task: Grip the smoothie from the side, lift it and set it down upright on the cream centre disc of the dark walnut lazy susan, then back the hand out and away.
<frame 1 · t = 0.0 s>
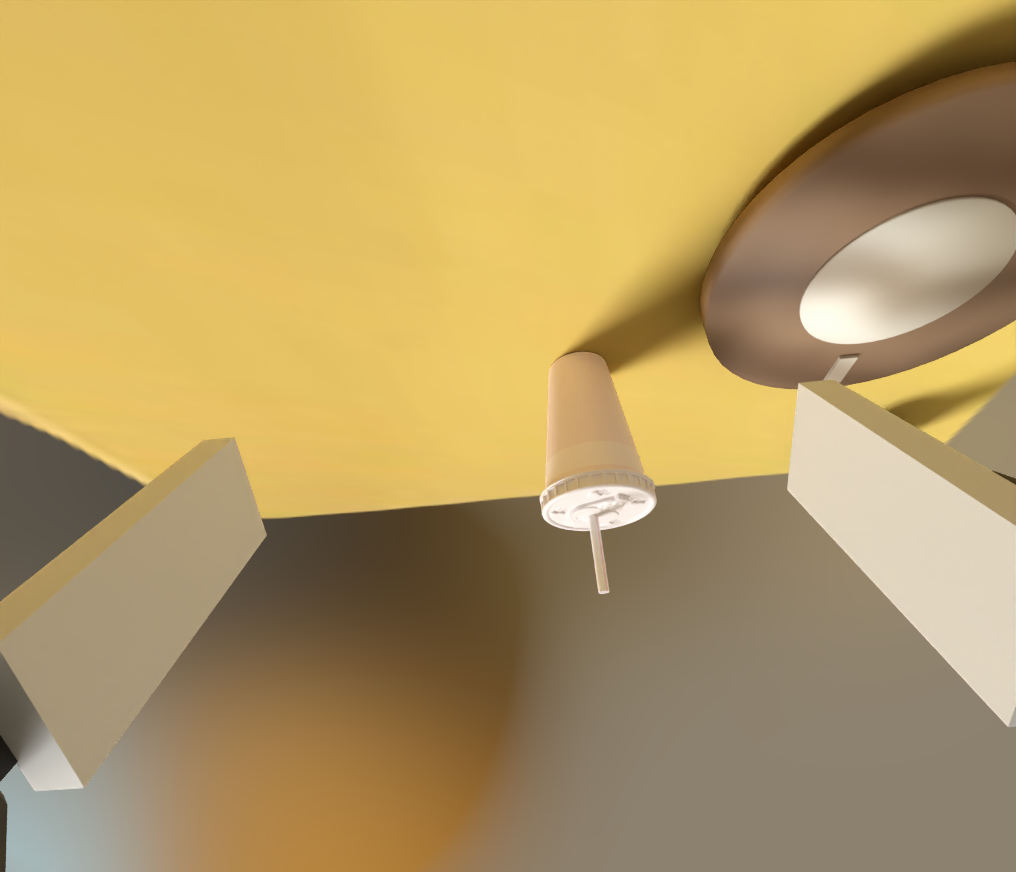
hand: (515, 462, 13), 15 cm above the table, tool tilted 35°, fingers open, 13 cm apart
smoothie: (577, 367, 36), on the table
turntable: (895, 270, 27), point 2 cm above the table, hinge at 0.0°
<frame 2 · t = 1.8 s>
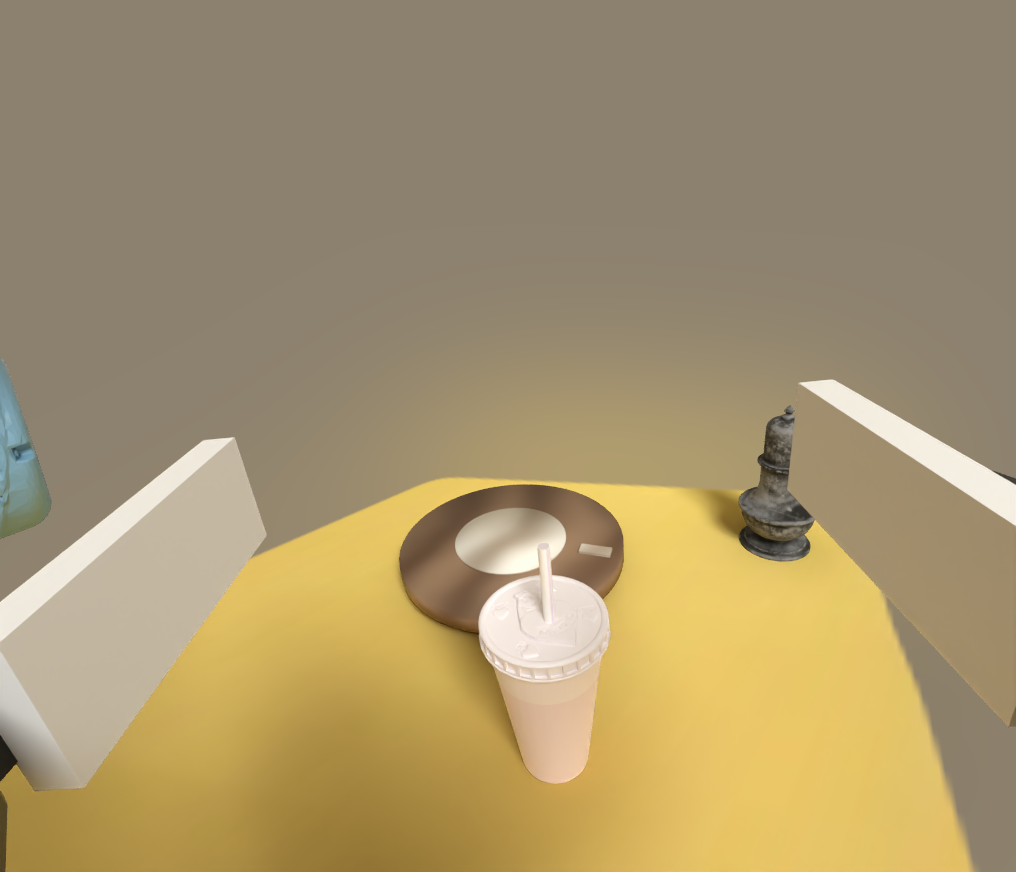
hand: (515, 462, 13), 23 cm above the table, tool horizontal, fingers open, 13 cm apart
salt shaker: (773, 543, 46), on the table
smoothie: (555, 753, 31), on the table
turntable: (511, 545, 45), point 2 cm above the table, hinge at 0.0°
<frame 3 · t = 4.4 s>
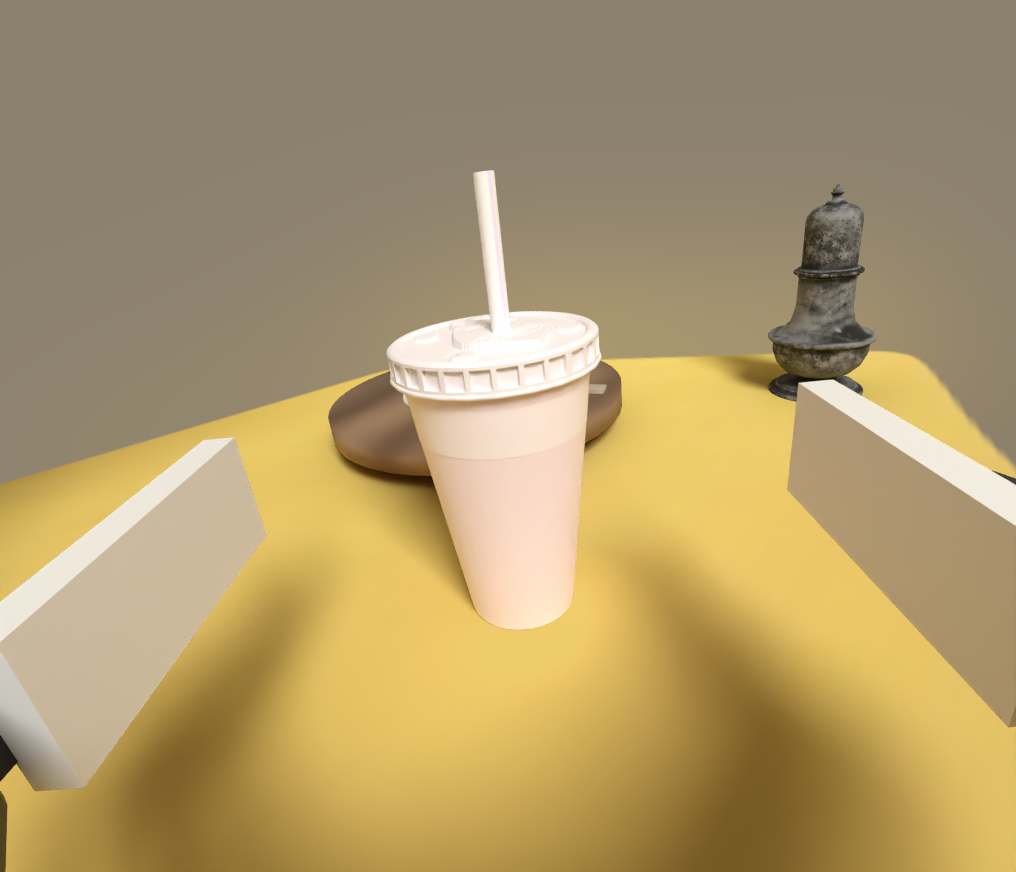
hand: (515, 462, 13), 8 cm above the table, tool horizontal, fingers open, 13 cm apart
salt shaker: (813, 391, 36), on the table
smoothie: (523, 597, 20), on the table
turntable: (476, 397, 35), point 2 cm above the table, hinge at 0.0°
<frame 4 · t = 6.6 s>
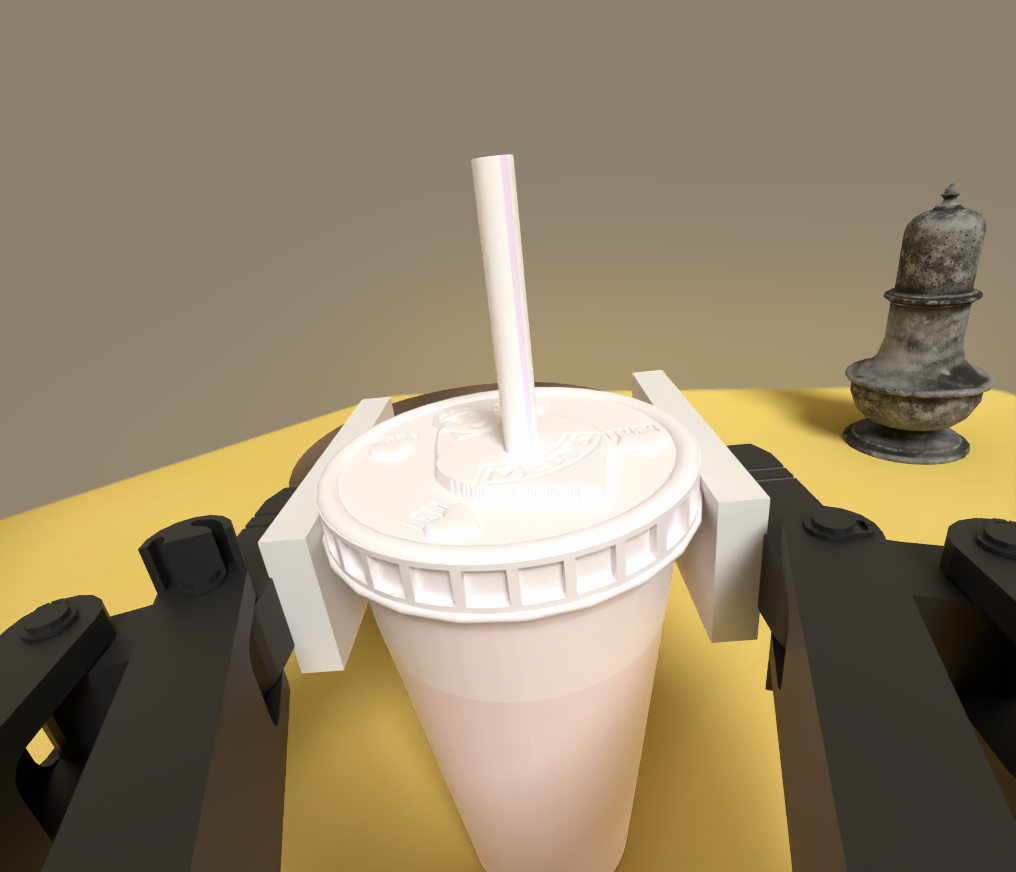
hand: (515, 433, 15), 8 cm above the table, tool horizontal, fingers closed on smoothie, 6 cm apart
salt shaker: (902, 444, 28), on the table
smoothie: (549, 819, 13), on the table, touching gripper
turntable: (478, 451, 28), point 2 cm above the table, hinge at 0.0°
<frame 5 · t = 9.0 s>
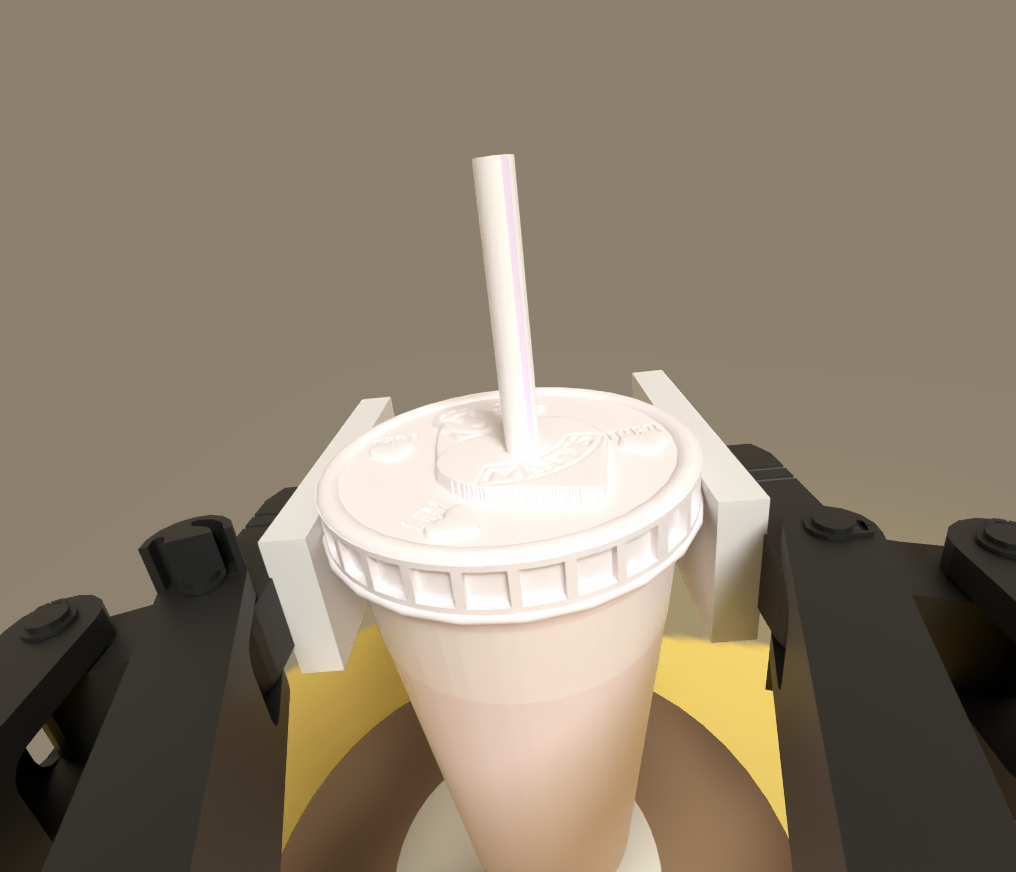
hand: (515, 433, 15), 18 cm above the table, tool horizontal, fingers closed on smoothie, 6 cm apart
smoothie: (549, 821, 13), point 10 cm above the table, touching gripper
when the fingers open (12 cm above the table, at t = 11.4 s): smoothie drops 1 cm, resting on turntable.
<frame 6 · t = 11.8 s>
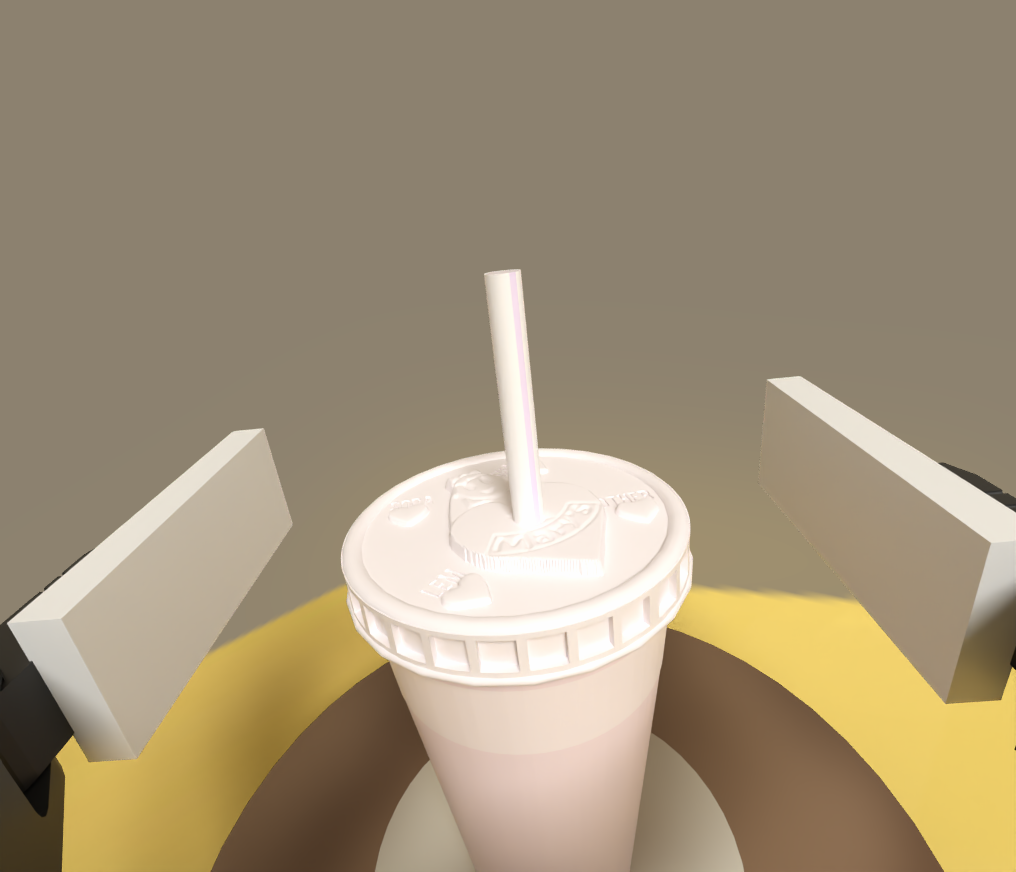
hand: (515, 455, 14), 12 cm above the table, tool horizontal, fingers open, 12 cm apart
smoothie: (554, 859, 14), point 3 cm above the table, touching turntable
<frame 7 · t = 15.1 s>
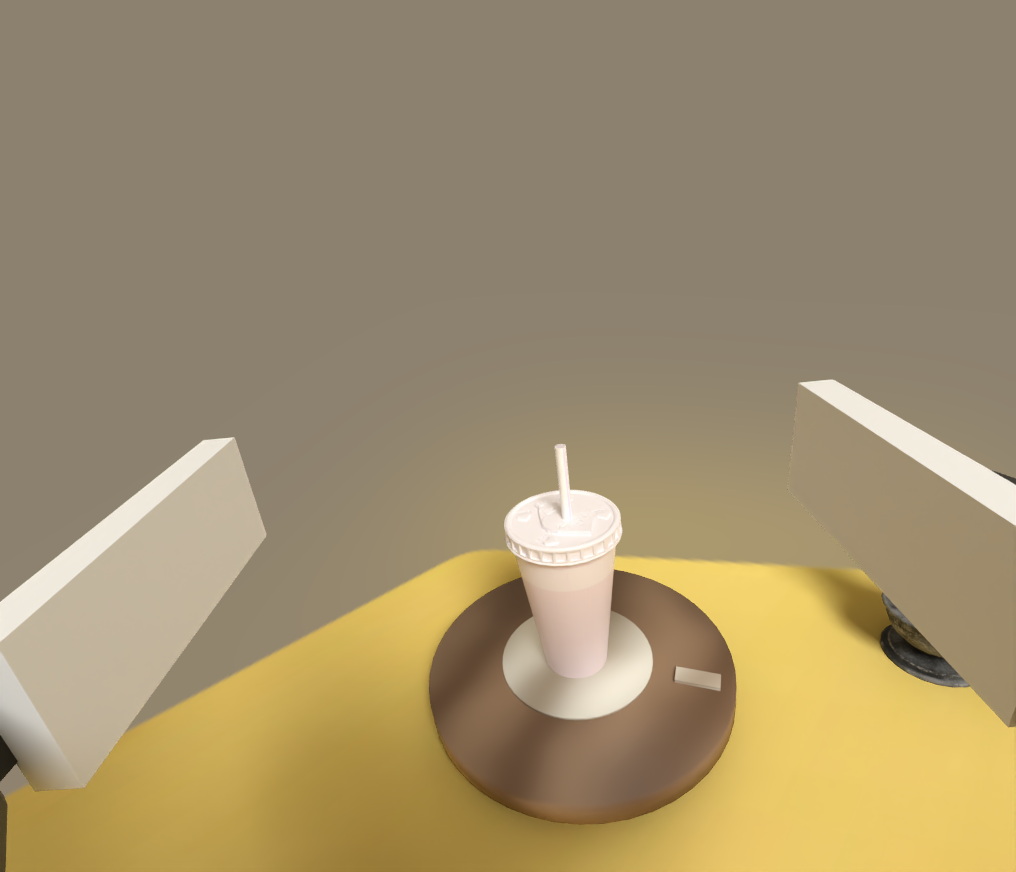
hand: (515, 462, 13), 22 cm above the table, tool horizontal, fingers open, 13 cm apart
salt shaker: (931, 655, 34), on the table
smoothie: (576, 657, 34), point 3 cm above the table, touching turntable
turntable: (577, 664, 34), point 2 cm above the table, hinge at 0.0°, touching smoothie
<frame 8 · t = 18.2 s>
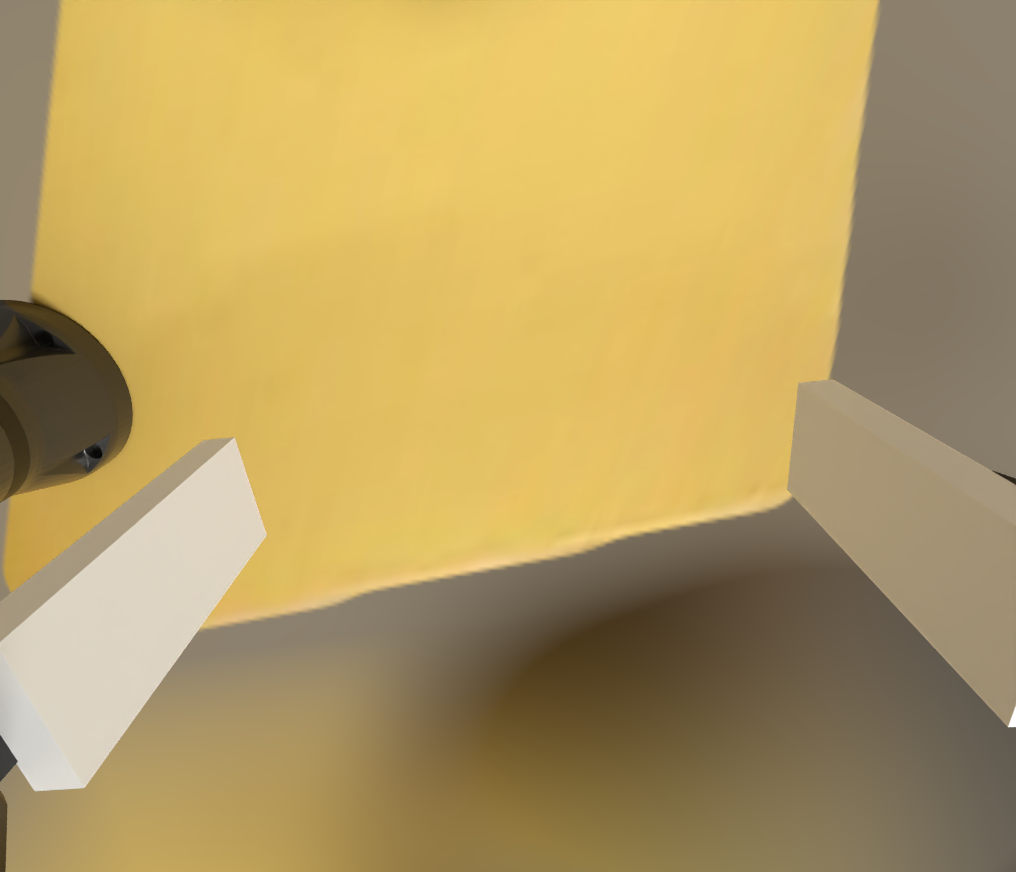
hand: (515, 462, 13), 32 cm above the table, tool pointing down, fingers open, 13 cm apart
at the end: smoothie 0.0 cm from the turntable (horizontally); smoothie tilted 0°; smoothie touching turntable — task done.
